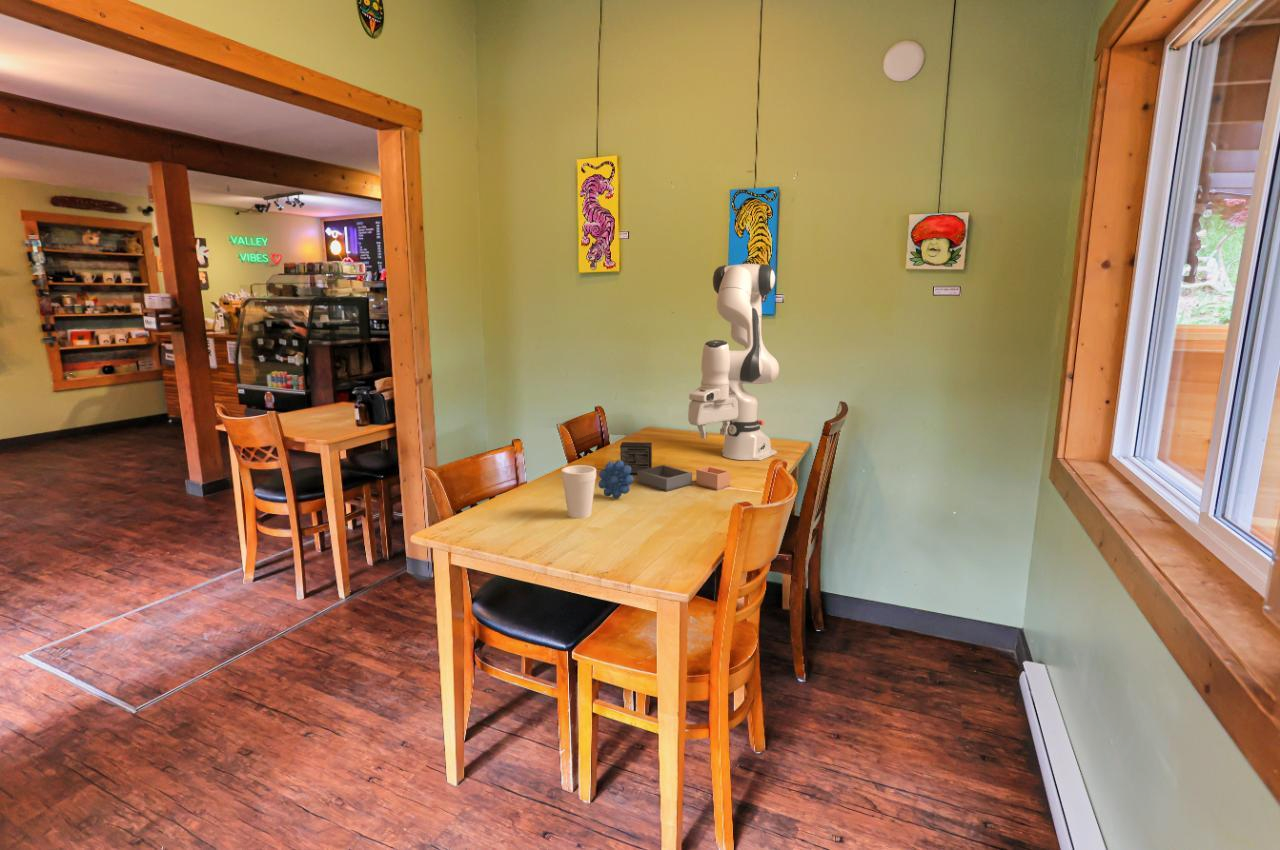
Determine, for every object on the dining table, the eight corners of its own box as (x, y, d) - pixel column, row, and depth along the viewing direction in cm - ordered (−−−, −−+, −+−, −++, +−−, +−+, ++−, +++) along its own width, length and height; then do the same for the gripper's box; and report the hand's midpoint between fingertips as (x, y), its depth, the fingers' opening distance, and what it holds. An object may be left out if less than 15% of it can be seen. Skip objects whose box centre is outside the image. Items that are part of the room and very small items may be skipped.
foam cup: (569, 522, 172) (568, 475, 170) (557, 512, 180) (556, 467, 178) (602, 516, 177) (601, 471, 174) (588, 507, 185) (588, 463, 182)
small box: (652, 471, 224) (652, 441, 222) (650, 476, 218) (650, 445, 216) (622, 470, 225) (622, 441, 223) (619, 475, 219) (619, 445, 217)
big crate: (662, 476, 217) (662, 464, 216) (692, 484, 207) (692, 472, 207) (637, 482, 210) (637, 470, 209) (666, 491, 200) (666, 479, 199)
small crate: (708, 480, 212) (708, 466, 211) (729, 486, 205) (729, 471, 204) (696, 484, 208) (696, 469, 207) (717, 490, 201) (717, 475, 200)
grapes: (639, 496, 195) (639, 458, 192) (629, 503, 189) (629, 463, 186) (605, 492, 199) (605, 454, 197) (595, 498, 193) (594, 459, 191)
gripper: (728, 389, 210) (727, 430, 212) (685, 394, 196) (684, 438, 199) (743, 391, 205) (742, 433, 208) (700, 396, 192) (699, 441, 194)
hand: (713, 436), depth 203 cm, fingers open, 8 cm apart
